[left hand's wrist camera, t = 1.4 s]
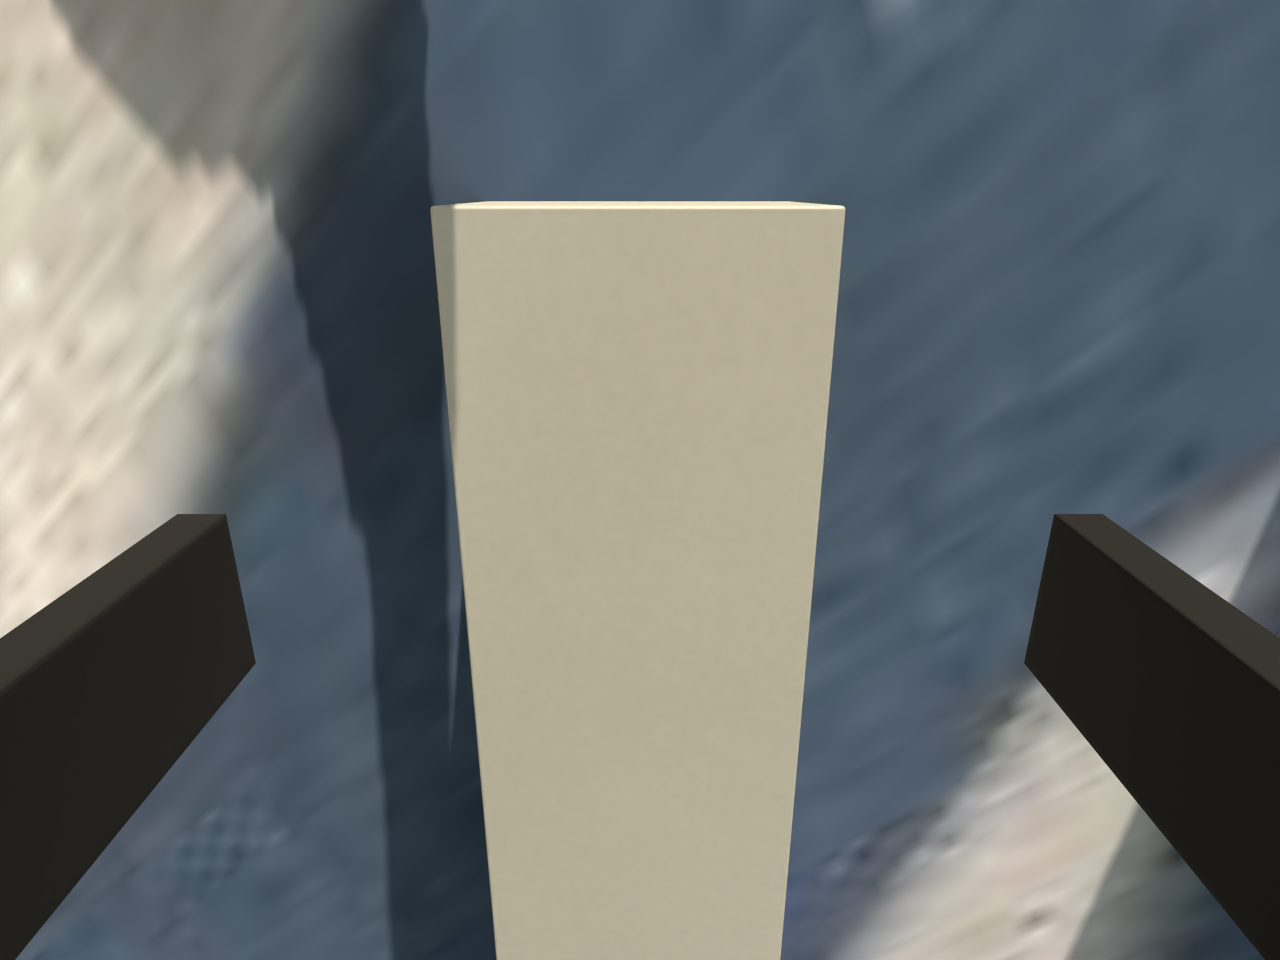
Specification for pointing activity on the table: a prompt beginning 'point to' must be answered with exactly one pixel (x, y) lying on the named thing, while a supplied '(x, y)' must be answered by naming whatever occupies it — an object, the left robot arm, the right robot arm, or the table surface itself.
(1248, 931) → the left robot arm
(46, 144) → the table surface
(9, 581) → the table surface
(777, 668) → the wide beam
